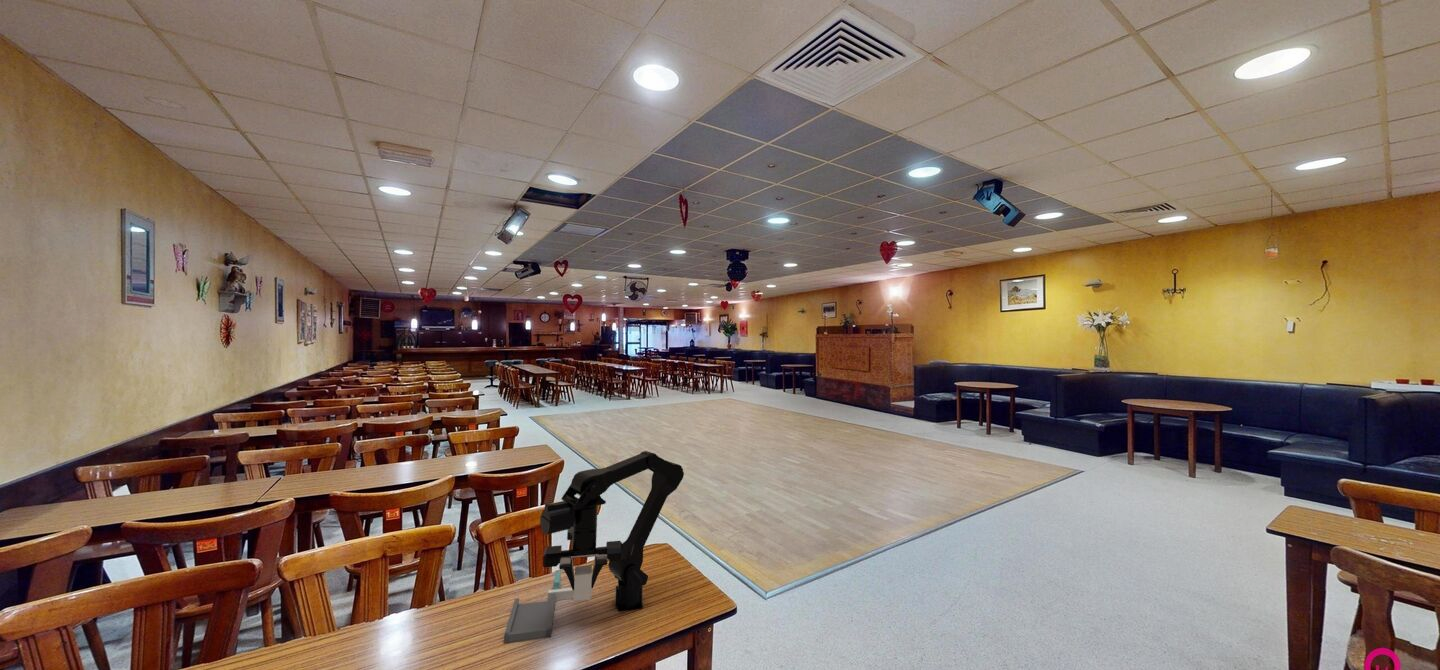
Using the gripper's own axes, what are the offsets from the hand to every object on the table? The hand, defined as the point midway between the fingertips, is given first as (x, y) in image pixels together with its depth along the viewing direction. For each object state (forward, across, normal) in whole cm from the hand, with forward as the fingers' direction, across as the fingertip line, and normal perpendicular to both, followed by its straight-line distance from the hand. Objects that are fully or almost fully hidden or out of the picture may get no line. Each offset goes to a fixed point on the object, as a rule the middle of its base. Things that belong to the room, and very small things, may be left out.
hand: (582, 588), depth 115 cm
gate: (+8, +4, -16) cm, 19 cm away
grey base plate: (+8, +12, -4) cm, 15 cm away
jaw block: (+2, 0, 0) cm, 2 cm away
